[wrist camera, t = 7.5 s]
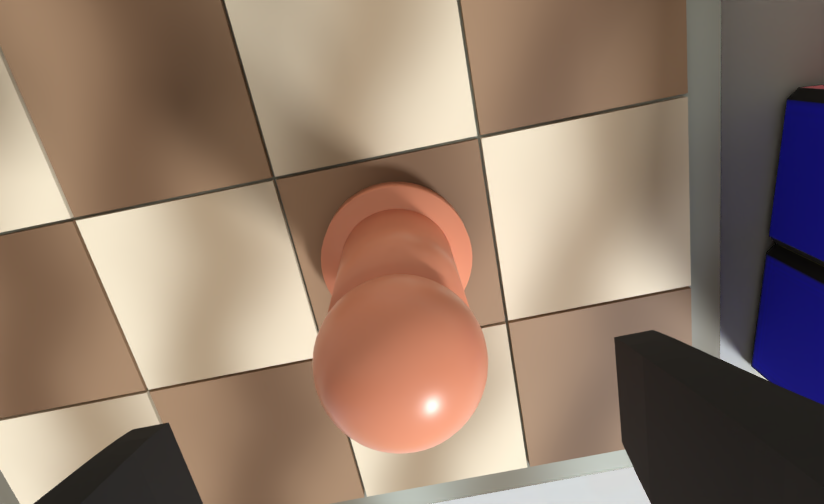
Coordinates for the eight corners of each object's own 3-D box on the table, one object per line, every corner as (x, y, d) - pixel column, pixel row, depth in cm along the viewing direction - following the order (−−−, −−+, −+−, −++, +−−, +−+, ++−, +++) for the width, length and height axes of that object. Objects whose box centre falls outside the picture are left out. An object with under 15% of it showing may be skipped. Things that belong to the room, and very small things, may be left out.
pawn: (343, 328, 17) (307, 537, 10) (307, 197, 16) (233, 324, 8) (478, 302, 17) (547, 493, 10) (455, 167, 15) (516, 269, 8)
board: (53, 552, 21) (34, 580, 20) (-255, 14, 15) (-310, 11, 13) (704, 433, 21) (722, 454, 19) (699, -195, 14) (727, -217, 13)
